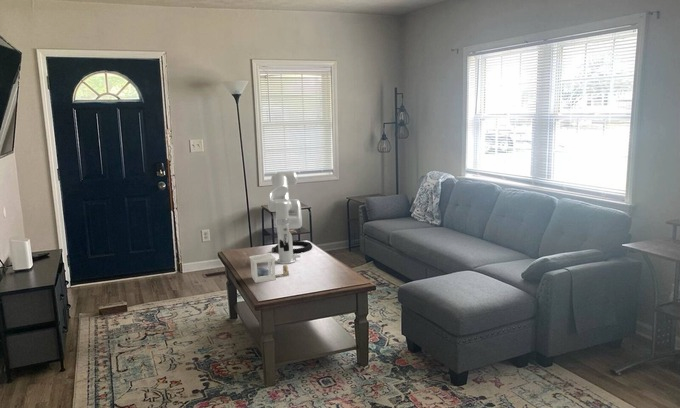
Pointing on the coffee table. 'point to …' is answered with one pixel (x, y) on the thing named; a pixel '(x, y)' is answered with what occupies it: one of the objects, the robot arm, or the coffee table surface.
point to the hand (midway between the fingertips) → (284, 249)
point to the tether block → (285, 273)
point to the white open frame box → (269, 259)
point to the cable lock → (299, 250)
